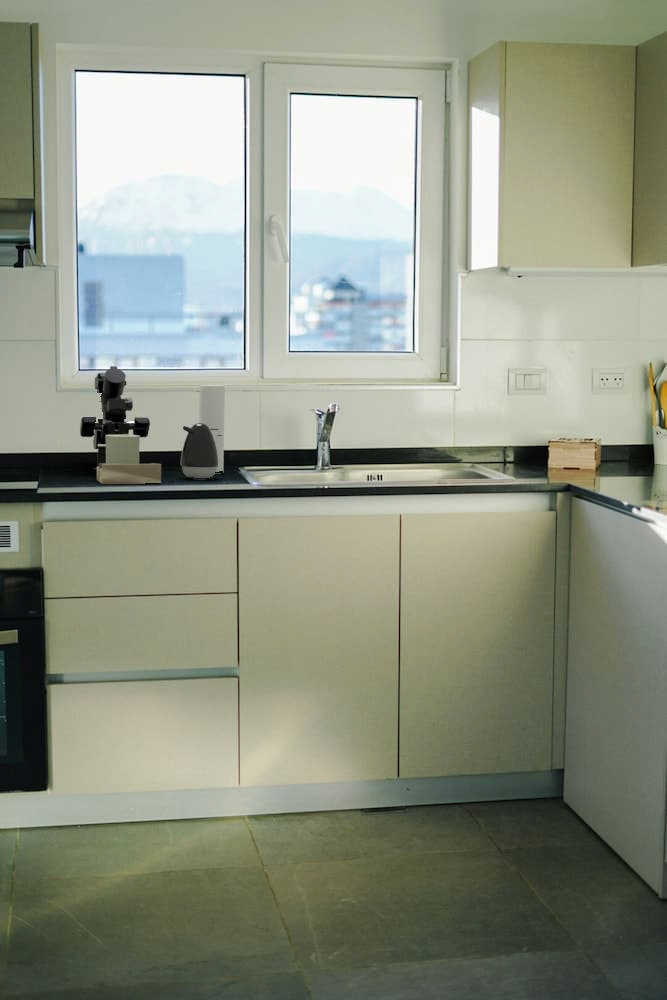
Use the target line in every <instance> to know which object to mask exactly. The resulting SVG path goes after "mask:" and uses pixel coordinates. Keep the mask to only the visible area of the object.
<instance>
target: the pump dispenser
mask: <svg viewBox="0 0 667 1000" xmlns="http://www.w3.org/2000/svg"><path fill="white" fill-rule="evenodd" d="M182 430H183V431H185V432H186V433H187V434H186V437H185V440H184V443H183V446H182V452H181V456H180V466H181V469H182V472H183V474H184V475H185V476H186V477H187V478H188V477H194V478H209V479H211V478H213V477H214V475H215V474H216V473H215V472H216V470H217V466H218V454H217V448H216V444H215V441H214V438H213V435H212V433H211V431H210V429H209V427H208V426H207V425H205V424H203V423H199V422H197V423H194V424H193V425H192V426H191V427H189V426H186V425H184V426H183V427H182ZM210 477H211V478H210Z"/></svg>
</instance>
